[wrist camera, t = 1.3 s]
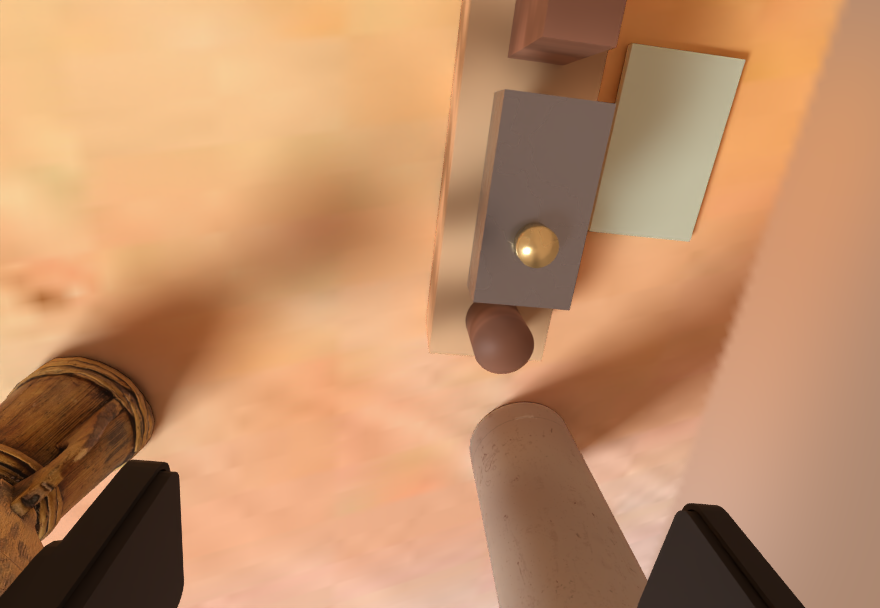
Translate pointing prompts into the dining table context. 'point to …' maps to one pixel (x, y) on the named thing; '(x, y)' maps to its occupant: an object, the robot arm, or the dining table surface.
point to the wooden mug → (61, 448)
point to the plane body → (474, 82)
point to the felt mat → (663, 141)
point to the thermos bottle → (547, 516)
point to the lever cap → (536, 197)
